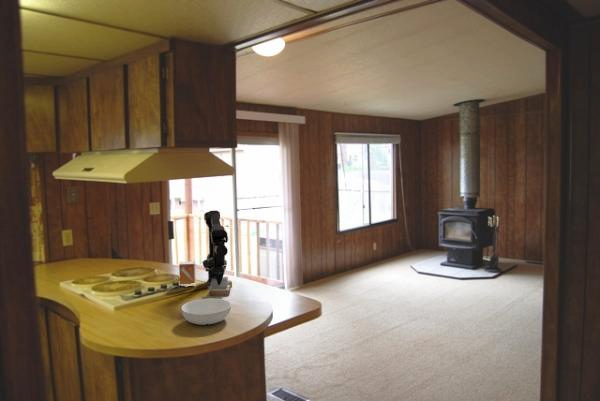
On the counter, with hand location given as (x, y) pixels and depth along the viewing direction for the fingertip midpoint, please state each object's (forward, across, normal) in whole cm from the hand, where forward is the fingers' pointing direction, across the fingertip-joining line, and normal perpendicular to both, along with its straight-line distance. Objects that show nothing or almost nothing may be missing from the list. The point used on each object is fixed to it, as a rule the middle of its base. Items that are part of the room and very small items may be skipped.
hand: (219, 282), depth 240 cm
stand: (+6, 0, 0) cm, 6 cm away
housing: (+2, 0, 0) cm, 2 cm away
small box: (+6, -16, -19) cm, 26 cm away
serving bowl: (+6, +42, -2) cm, 42 cm away
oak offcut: (+6, -12, +3) cm, 14 cm away
